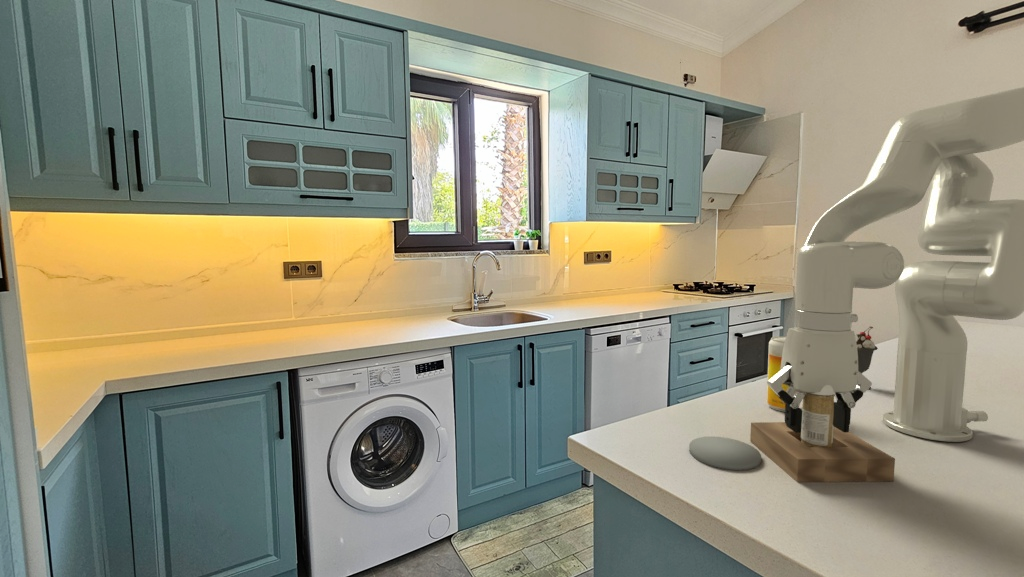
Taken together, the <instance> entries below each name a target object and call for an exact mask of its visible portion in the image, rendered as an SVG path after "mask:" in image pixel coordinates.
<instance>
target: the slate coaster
mask: <svg viewBox="0 0 1024 577" xmlns="http://www.w3.org/2000/svg"><path fill="white" fill-rule="evenodd" d="M688 445H689V446H688V448H689V449H688V450H689V451H688V452H689V453H690V455H691V456H692V457H693V458H694V459H696V460H697V461H698V462H701V463H702V464H705V465H707V466H711V467H714V468H717V469H721V470H728V471H747V470H753V469H755V468H757V467H759V466H760V465H761V463H762V454H761V452H760V450H758V448H757V449H756V448H755V447H754V446H752V444H751V445H750V444H749V443H747V442H744V441H741V440H737V439H734V438H729V437H724V436H723V437H722V436H712V435H711V436H700V437H697V438H694V439H693V440H691V441H690V442H689V444H688Z"/></svg>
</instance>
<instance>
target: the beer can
mask: <svg viewBox="0 0 1024 577" xmlns="http://www.w3.org/2000/svg"><path fill="white" fill-rule="evenodd" d="M785 339H786V336H772V337H771V338H770V340H769V342H768V358H767V378H766V380H767V381H768V380H769V379H771V378H772V377H773V376H774V375H776V374H777V373H778V372H779V371H780V369H781V360H782V354H783V348H784V343H785ZM766 384H767V383H766ZM788 387H789V386H787V385H784V384H782V388H783V389H784V390H785V392H786V390H787V389H788ZM766 403H767V404H768V407H769V408H770V409H772V410H775V411H780V412H784V413H785V403H783V402H782V400H781V399H780V398H779V397H778V396H777V395H776V394H775V392H774V391H773V390H772V389H771V388H770V387H769V386H768V384H767V385H766Z"/></svg>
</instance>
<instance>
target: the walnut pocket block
mask: <svg viewBox="0 0 1024 577" xmlns="http://www.w3.org/2000/svg"><path fill="white" fill-rule="evenodd" d="M749 437H750V438H749V442H750V441H751V442H750V443H751V444H752V445H754V446H755V447H756V448H757V449H759V451H761V452H762V453H763V454H764V455H765V456H767V458H769V459H770V460H771V461H772V462H773V463H775V465H777V466H778V467H779V468H780V469H781V470H782V471H784V472H785V473H786V474H787V475H789V476H790V477H791V478H792V479H793V480H794V481H796V483H797V482H798V483H800V482H801V483H803V482H804V483H805V482H807V483H811V482H812V483H814V482H815V483H817V482H822V483H823V482H824V483H826V482H827V483H828V482H829V483H831V482H832V483H833V482H837V483H839V482H847V483H848V482H894V480H895V464H896V459H895V457H893V456H891V455H890V454H888V453H886V452H885V451H883V450H881V449H880V448H877V447H875V446H874V445H872V444H871V443H869V442H867V441H866V440H864V439H862V438H860V437H858V436H857V435H855V434H853V433H851V432H850V431H849V432H843V431H841V430H839V429H837V428H836V427H834V426H833V443H832V447H808V446H806V445H805V444H803V443H802V442H801V432H800V433H796V432H794V431H793V430H791V429H790V428H788V427H787V426H786V423H785V421H783V422H781V421H779V422H777V421H776V422H769V421H768V422H764V421H763V422H762V421H761V422H750V436H749Z"/></svg>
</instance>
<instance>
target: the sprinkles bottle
mask: <svg viewBox="0 0 1024 577" xmlns="http://www.w3.org/2000/svg"><path fill="white" fill-rule="evenodd" d="M834 402H835V392H834V391H833V388H832V387H831V386H830V385H826V386H824V387H823V388H822V390H821V391H820V392H817V393H806V394H805V396H804V398H803V399H802V407H801V409H802V427H801V442H802V443H803V444H805V445H806V446H808V447H832V443H833V414H834V412H833V411H834Z"/></svg>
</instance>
